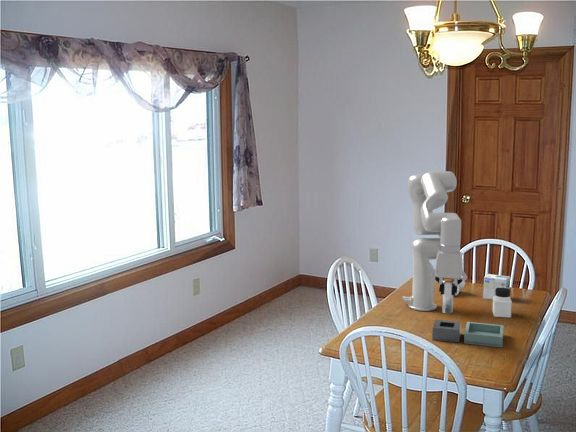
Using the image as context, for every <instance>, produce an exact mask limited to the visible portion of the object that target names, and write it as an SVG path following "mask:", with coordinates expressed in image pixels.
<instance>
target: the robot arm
mask: <svg viewBox="0 0 576 432" xmlns="http://www.w3.org/2000/svg"><path fill="white" fill-rule="evenodd" d="M407 180H408V181H407V190H408V194H409V198H410V200H411V203H412V215H413V230H414V232H415V233H416V235H419V236H438V237H421V238H416V239H415V240H413V241H412V242H411V246H410V247H411V255H412V257H411V258H412V287H411V289H412V290H411V291H412V292H411V295H410V296H403V295H402V299H401V300H402V301H403V302H405V303H407V302H408V305H407V307H408V308H409V309H411V310H413V311H420V312H431V311H434V310H436V309H437V308H438V305H437V303H435V302H434V295H435V293H434V292H435V281H436V282H437V284H438V286H439V287H438V288H439V289H438V291H439V293H440V295H442V296H443V278H449V279H454V286H453V297H456V296H455V293H457V286H458V285H459V284H460V283H461V282H462V281H464V280H465V281H466V280H468V276H467V274H466V273H465V271H464V270H463V269H464V264H463V263H464V262H463V253H462V252H461V242H462V241H461V239H462V219H461V218H460V217H459V215H458V214H457V213H456V212H433V211H434V210H437V209H439V208H440V207H442V206H444V205H446V203H447V202H448V199H449V196H448V193H451V192H453V191H455V190H456V188H457V184H458V183H457V182H458V181H457V178H456V175H455V174H454V172H453V171H449V170H448V171H447V170H446V171H445V170H443V171H442V170H439V171H437V170H436V171H433V170H432V171H427V172H425V173H418V174H417V173H416V174H412V175H411V176H409V177H408V179H407ZM430 260H431V261H433V260H436V261H435V267H434V265H433V264H432V263H431V262H430ZM461 277H462V278H461ZM458 279H459V280H458ZM439 284H440V285H439Z"/></svg>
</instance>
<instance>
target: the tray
mask: <svg viewBox="0 0 576 432" xmlns="http://www.w3.org/2000/svg"><path fill="white" fill-rule="evenodd" d="M504 327H505V326H504V324H493V323H483V322H473V321H467V322H466V325H465V330H464V336H463V338H464V339H463V344H468V345H469V344H470V345H475V346H476V345H477V346H486V347H493V348H494V347H495V348H496V347H497V348H503V343H504V341H503V339H504Z"/></svg>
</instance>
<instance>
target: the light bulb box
mask: <svg viewBox="0 0 576 432" xmlns="http://www.w3.org/2000/svg"><path fill="white" fill-rule="evenodd" d="M510 282H511V276H509V275H500V274H490V273H487V274H486V275H485V276H484V277H483V291H482V292H483V295H482V299H484V300H485V299H486V300H491V301H493V297H494V296H495V293H496V288H498V287H506V288H509V289H510V290H511V288H510V285H511V283H510Z"/></svg>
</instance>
